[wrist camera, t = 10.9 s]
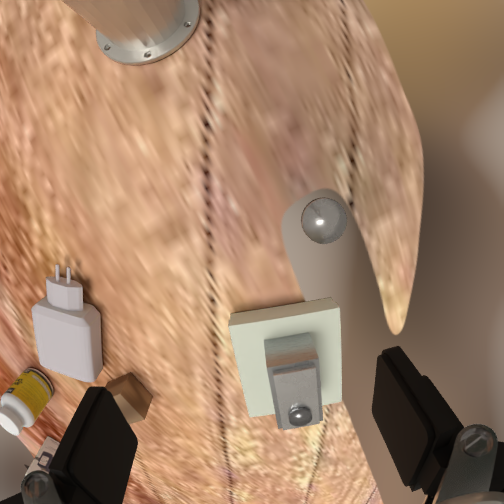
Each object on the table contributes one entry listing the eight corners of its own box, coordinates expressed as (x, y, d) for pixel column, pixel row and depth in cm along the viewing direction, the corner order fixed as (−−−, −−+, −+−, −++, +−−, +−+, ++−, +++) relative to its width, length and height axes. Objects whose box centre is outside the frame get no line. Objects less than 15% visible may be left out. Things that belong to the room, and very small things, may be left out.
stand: (229, 309, 36) (228, 326, 32) (330, 293, 36) (339, 307, 32) (249, 397, 40) (249, 417, 36) (334, 383, 40) (341, 401, 36)
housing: (263, 340, 33) (267, 376, 27) (308, 331, 33) (321, 366, 27) (274, 399, 35) (279, 437, 29) (314, 392, 35) (325, 428, 29)
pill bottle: (38, 362, 39) (2, 405, 27) (61, 393, 40) (31, 439, 29) (19, 370, 39) (-15, 408, 28) (40, 399, 41) (11, 440, 29)
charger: (103, 266, 35) (104, 365, 39) (45, 253, 34) (52, 348, 38) (86, 280, 30) (92, 384, 34) (24, 263, 30) (37, 364, 33)
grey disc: (296, 203, 34) (298, 204, 33) (339, 193, 34) (342, 194, 33) (305, 246, 35) (307, 248, 34) (347, 236, 35) (350, 237, 34)
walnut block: (107, 382, 39) (96, 403, 34) (131, 371, 39) (120, 393, 34) (129, 405, 41) (119, 427, 36) (152, 396, 40) (144, 419, 35)
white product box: (66, 463, 46) (48, 501, 35) (47, 452, 45) (27, 488, 34) (68, 446, 44) (47, 487, 33) (47, 434, 43) (24, 473, 32)
